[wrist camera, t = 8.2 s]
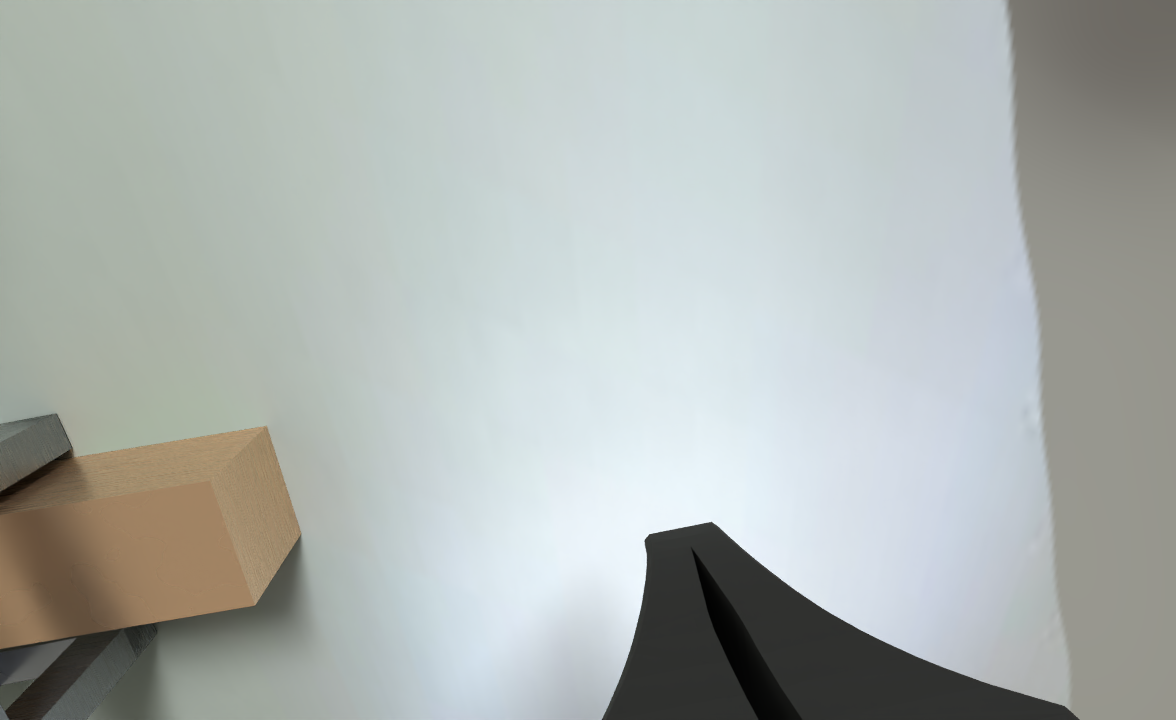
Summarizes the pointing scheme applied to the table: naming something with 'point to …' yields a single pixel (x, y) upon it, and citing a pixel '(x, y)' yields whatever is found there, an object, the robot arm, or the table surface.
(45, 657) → the gray metal beam bracket
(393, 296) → the table surface
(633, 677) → the robot arm
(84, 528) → the pine wood beam
